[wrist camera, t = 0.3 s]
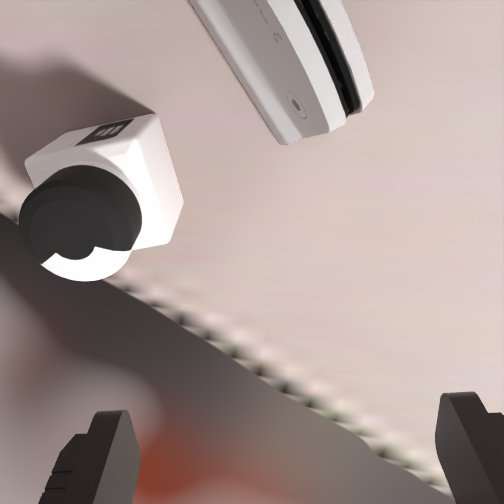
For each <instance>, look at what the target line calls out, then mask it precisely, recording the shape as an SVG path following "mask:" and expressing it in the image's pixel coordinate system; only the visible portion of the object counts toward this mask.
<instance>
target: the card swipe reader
mask: <svg viewBox="0 0 504 504" xmlns="http://www.w3.org/2000/svg"><path fill="white" fill-rule="evenodd" d="M189 2H190V3H191V5H192V7H193V8H194V10H195V11H196V13H197V14H198V16H199V18H200V19H201V21H202V22H203V24H204V26H205V27H206V29H207V30H208V32H209V33H210V35H211V37H212V38H213V40H214V41H215V43H216V44H217V46H218V48H219V49H220V51H221V52H222V54H223V55H224V57H225V59H226V60H227V62H228V63H229V65H230V66H231V68H232V70H233V71H234V73H235V74H236V76H237V77H238V79H239V81H240V82H241V84H242V85H243V87H244V89H245V90H246V92H247V93H248V95H249V96H250V98H251V100H252V101H253V103H254V104H255V106H256V107H257V109H258V111H259V112H260V114H261V115H262V117H263V118H264V120H265V122H266V123H267V125H268V126H269V128H270V129H271V131H272V133H273V134H274V136H275V137H276V139H277V141H278V142H279V144H282V145H289V144H291V143H293V142H296V141H298V140H300V139H303V138H306V137H311V136H316V135H321V134H325V133H329V132H331V131H333V130H335V129H337V128H339V127H341V126H343V125H344V124H345V123H346V118H347V117H348V116H349V115H353V114H357V113H360V112H361V111H362V110H363V109H364V108H365V107H366V105H367V104H368V103H369V102H370V101H371V100H372V98H373V97H374V89H373V86H372V82H371V78H370V75H369V72H368V69H367V66H366V63H365V60H364V57H363V54H362V51H361V48H360V46H359V43H358V41H357V38H356V36H355V33H354V31H353V28H352V26H351V23H350V21H349V18H348V16H347V14H346V12H345V9H344V7H343V5H342V3H341V1H340V0H189Z"/></svg>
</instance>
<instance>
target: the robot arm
mask: <svg viewBox="0 0 504 504" xmlns="http://www.w3.org/2000/svg"><path fill="white" fill-rule="evenodd" d="M435 444H436V450H437V455H438V458H439V461H440V464H441V466H442V469H443V471H444V474H445V476H446V479H447V481H448V484H449V486H450V489H451V491H452V494H453V496H454V499H455V501H456V504H504V415H503V414H502V413H488V412H487V410H486V409H485V407H484V405H483V403H482V402H481V400H480V398H479V396H478V395H477V394H476V393H475V392H457V393H443V394H442V395H441V398H440V405H439V411H438V418H437V425H436V431H435ZM139 469H140V451H139V446H138V443H137V439H136V436H135V432H134V429H133V425H132V422H131V419H130V415H129V413H128V411H127V410H116V411H99V412H97V413H96V414H95V415H94V417H93V420H92V422H91V425H90V427H89V430H88V433H87V434H75V436H74V437H73V438H72V439H71V440H70V441H69V443H68V444H67V445H66V446H65V447H64V449H62V451H61V452H60V454H59V456H58V458H57V461H56V463H55V466H54V468H53V470H52V475H51V476H50V477H49V480H48V482H47V484H46V487H45V492H44V493H43V494H42V496H41V498H40V501H39V503H38V504H132V500H133V496H134V492H135V488H136V484H137V479H138V475H139Z"/></svg>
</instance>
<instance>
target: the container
mask: <svg viewBox="0 0 504 504" xmlns="http://www.w3.org/2000/svg"><path fill="white" fill-rule="evenodd" d="M24 164H25V167H26V170H27V172H28V174H29V176H30V179H31V181H32V183H33V185H34V188H35V189H34V190H33V191H32V192H31V193H30V194H29V195H28V196H27V198H26V199H25V201H24V203H23V204H22V207H21V210H20V214H19V228H20V234H21V237H22V240H23V242H24V244H25V246H26V248H27V249H28V251H29V252H30V254H31V255H32V256H33V257H34V258H35V260H37V261H38V262H39V263H40V264H41V265H42V266H44V267H45V268H46V269H48V270H49V271H51V272H53V273H54V274H57V275H59V276H61V277H64V278H68V279H71V280H77V281H94V280H99V279H103V278H105V277H108V276H110V275H112V274H113V273H115V272H116V271H118V270H119V269H120V268H121V267H122V266H123V265H124V263H125V262H126V260H127V259H128V257H129V255H130V253H131V251H132V250H136V249H141V248H146V247H152V246H157V245H162V244H166V243H168V242H169V241H170V239H171V236H172V233H173V231H174V228H175V225H176V222H177V220H178V217H179V214H180V211H181V209H182V206H183V198H182V195H181V191H180V188H179V184H178V181H177V178H176V174H175V171H174V168H173V164H172V161H171V157H170V154H169V151H168V147H167V144H166V141H165V137H164V134H163V130H162V127H161V124H160V120H159V117H158V116H157V115H156V114H148V115H143V116H139V117H134V118H130V119H125V120H120V121H116V122H111V123H107V124H102V125H98V126H93V127H88V128H84V129H79V130H75V131H70V132H66V133H64V134H63V135H61V136H60V137H58V138H57V139H55V140H54V141H52V142H51V143H49V144H48V145H46V146H45V147H43V148H42V149H40V150H39V151H37V152H36V153H34V154H33V155H31V156H30V157H28V158H27V159H26V160H25V162H24Z"/></svg>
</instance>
